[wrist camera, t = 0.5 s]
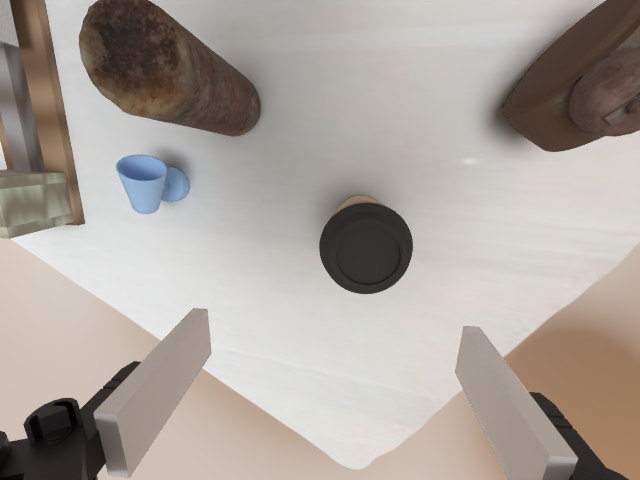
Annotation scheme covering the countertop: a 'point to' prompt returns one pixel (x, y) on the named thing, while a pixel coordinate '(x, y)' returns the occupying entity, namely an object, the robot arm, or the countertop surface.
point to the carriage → (7, 26)
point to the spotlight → (150, 182)
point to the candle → (163, 69)
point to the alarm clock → (583, 82)
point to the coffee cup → (365, 246)
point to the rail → (45, 96)
